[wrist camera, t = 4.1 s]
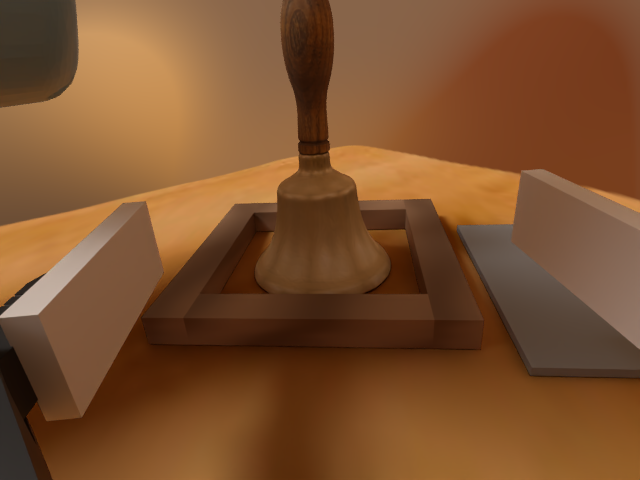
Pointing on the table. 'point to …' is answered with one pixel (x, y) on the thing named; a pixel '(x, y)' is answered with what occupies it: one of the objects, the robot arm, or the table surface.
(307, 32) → the hand bell
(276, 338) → the square frame
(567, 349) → the rubber mat
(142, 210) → the robot arm
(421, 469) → the table surface
